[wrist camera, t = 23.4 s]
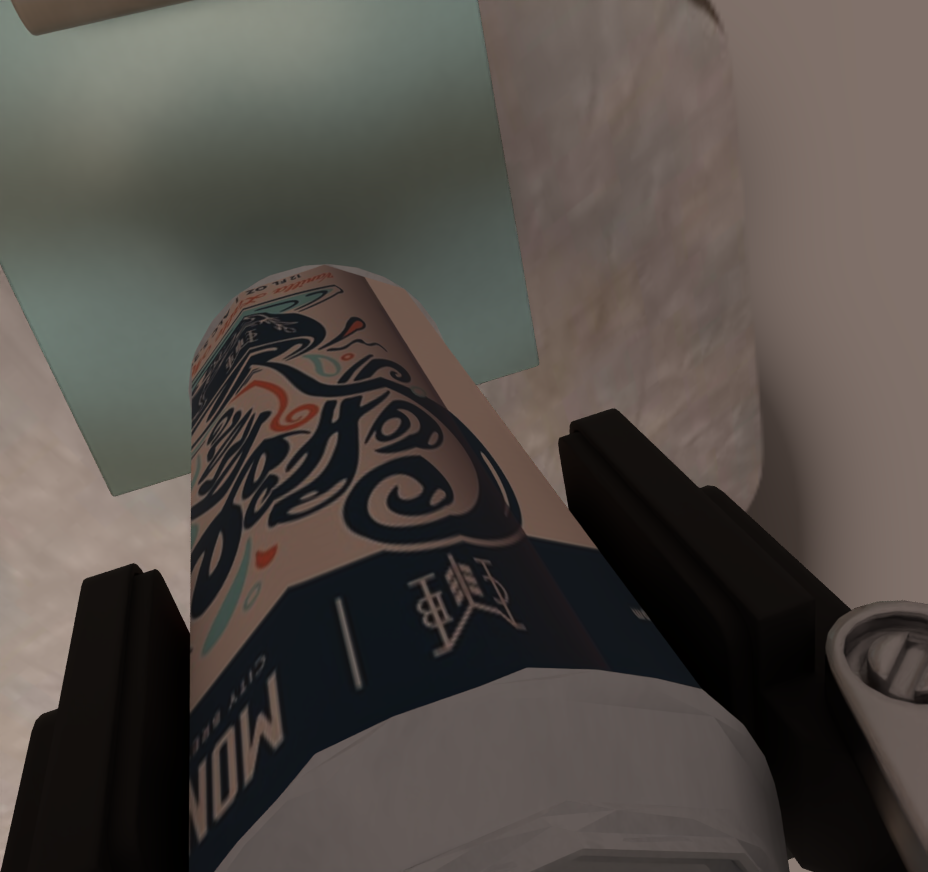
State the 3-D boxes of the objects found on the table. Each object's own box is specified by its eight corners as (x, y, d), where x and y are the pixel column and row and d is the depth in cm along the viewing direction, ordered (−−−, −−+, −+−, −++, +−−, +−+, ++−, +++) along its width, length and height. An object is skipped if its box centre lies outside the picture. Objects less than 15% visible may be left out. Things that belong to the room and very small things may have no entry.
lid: (-170, -110, 17) (-313, -158, 12) (430, -228, 19) (510, -308, 14) (114, 484, 24) (95, 604, 19) (531, 356, 26) (608, 436, 21)
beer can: (288, 201, 15) (518, 679, 4) (492, 347, 17) (966, 892, 6) (136, 418, 15) (22, 1246, 5) (349, 530, 18) (565, 1260, 7)
